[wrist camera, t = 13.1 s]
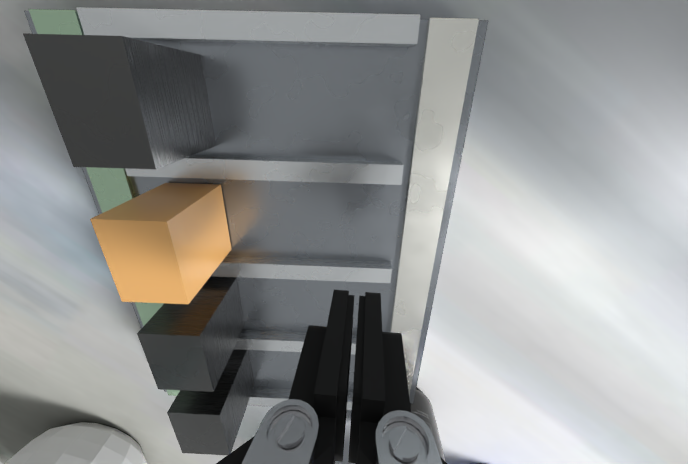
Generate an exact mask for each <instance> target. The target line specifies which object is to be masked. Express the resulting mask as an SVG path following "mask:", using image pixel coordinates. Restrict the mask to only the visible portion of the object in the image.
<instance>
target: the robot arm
mask: <svg viewBox="0 0 688 464" xmlns="http://www.w3.org/2000/svg"><path fill="white" fill-rule="evenodd" d="M353 312H354V295H349V291H347V290H335V289H334V291H333V296H332V302H331V307H330V312H329V317H328V323H327V327H324V326H313V325H309V326H308V329H307V332H306V336H305V340H304V344H303V347H302V351H301V355H300V358H299V362H298V366H297V369H296V373H295V377H294V381H293V384H292V388H291V392H290V395H289V399H288V400H285V401H282V402H280V403H278V404H276V405H275V406H274V407H273V408H271V409H270V410H269V411H268V413H267V414H266V416H265V417H264V419H263V420H262V422H261V425H260V427H259V429H258V431H257V433H256V435H255V436H254V437H253V438H251V439H250V440H249V441H247V442H246V443H244V444H243V445H242V446H240V447H239V448H237V449H236V450H235V451H233V452H232V453H230V454H229V455H228V456H226V457H225V458H223V459H222V460H221V461H219V462H218V463H216V464H335V461H342V460H343V448H344V436H345V423H346V411H347V398H348V386H349V373H350V361H351V346H352V329H353ZM349 462H351V463H356V464H447V463H446V462H445V461H444V460H443V459H442V458H441V457H440V454H439V451H438V448H437V445H436V442H435V439H434V436H433V434H432V432H431V430H430V428H429V427H428V426H427V424H426V423H425V422H424V421H423V420H422V419H421V418H419V417H418V416H417V415H415V414H413V413H411V407H410V399H409V390H408V382H407V374H406V366H405V357H404V349H403V341H402V335H401V333H393V332H382V312H381V293H373V292H365V296H359V308H358V322H357V337H356V351H355V367H354V383H353V398H352V414H351V430H350V446H349Z"/></svg>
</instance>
